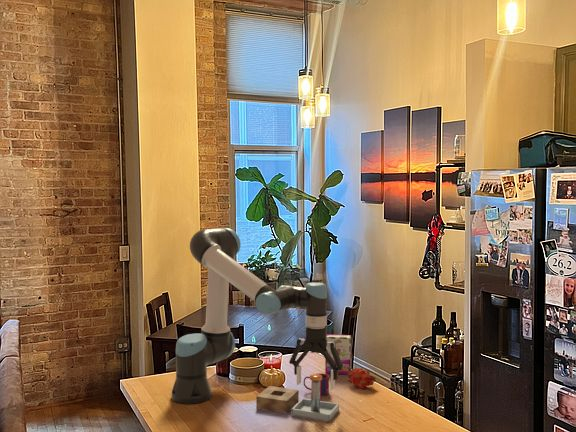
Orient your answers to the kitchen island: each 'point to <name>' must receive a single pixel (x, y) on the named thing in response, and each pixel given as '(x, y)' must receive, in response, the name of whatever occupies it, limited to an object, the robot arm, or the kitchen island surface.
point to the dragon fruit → (360, 378)
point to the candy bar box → (340, 353)
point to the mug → (322, 384)
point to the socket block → (277, 399)
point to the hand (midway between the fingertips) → (315, 386)
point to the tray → (325, 413)
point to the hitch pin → (315, 392)
